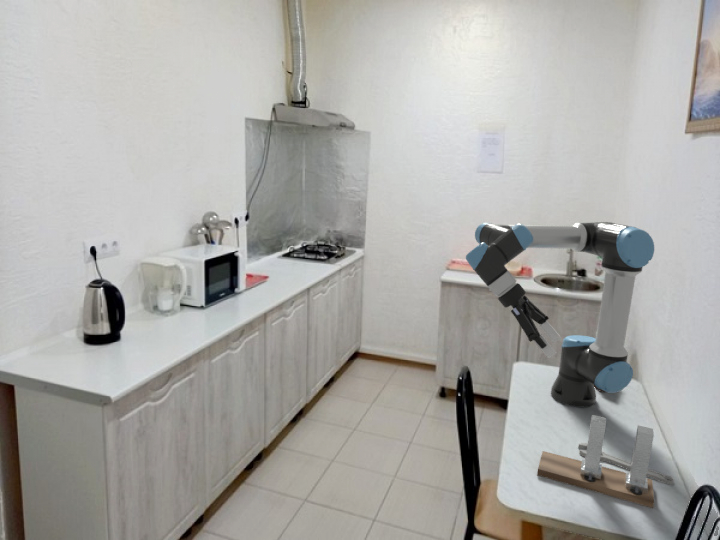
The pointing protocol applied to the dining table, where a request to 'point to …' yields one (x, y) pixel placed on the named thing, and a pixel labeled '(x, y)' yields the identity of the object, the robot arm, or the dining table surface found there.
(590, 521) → the dining table surface
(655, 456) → the dining table surface
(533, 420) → the dining table surface
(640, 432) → the fixed leg
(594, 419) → the block
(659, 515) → the dining table surface
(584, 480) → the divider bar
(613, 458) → the adjustable wrench
